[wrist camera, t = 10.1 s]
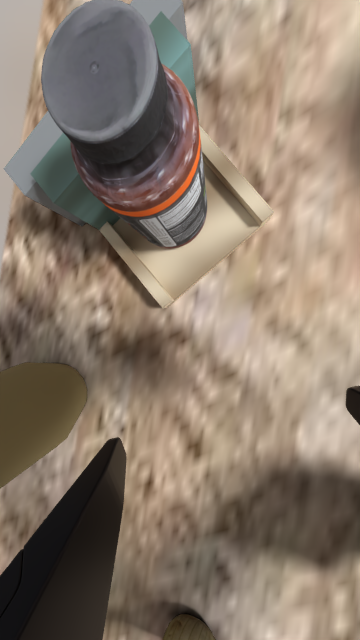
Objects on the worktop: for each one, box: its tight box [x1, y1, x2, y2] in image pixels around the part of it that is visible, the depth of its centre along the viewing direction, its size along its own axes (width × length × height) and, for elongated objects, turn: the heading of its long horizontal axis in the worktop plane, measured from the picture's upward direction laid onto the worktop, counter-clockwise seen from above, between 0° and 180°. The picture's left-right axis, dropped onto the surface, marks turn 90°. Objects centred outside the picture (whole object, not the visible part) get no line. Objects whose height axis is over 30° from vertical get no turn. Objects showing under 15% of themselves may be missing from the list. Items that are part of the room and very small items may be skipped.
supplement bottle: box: [41, 0, 207, 249], centre depth 12 cm, size 6×6×11 cm
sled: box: [30, 11, 274, 308], centre depth 15 cm, size 11×11×7 cm
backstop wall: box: [4, 0, 187, 226], centre depth 16 cm, size 4×14×6 cm, turn 130°
